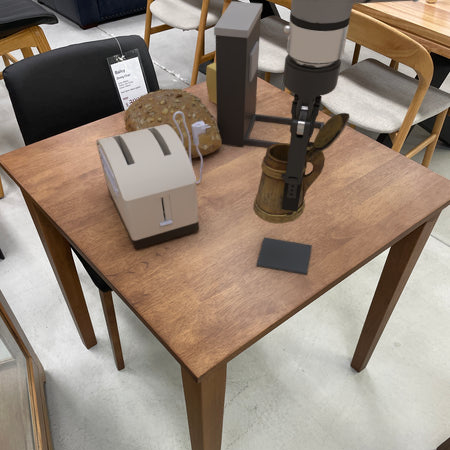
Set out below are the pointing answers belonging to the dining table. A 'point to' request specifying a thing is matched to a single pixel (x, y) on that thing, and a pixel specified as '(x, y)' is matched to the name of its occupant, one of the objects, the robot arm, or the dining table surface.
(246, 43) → the coffee maker
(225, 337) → the dining table surface
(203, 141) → the bread
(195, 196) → the toaster
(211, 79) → the cheese
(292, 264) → the mat
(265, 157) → the wooden mug
